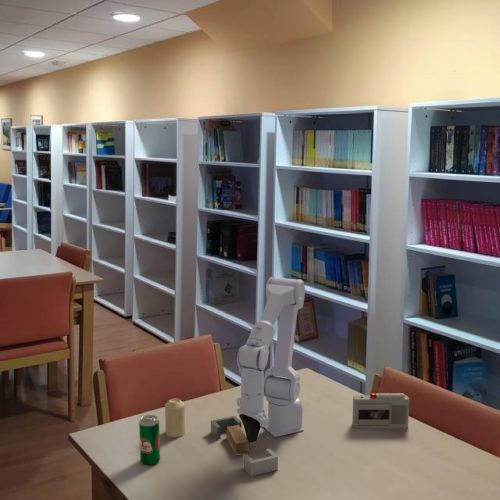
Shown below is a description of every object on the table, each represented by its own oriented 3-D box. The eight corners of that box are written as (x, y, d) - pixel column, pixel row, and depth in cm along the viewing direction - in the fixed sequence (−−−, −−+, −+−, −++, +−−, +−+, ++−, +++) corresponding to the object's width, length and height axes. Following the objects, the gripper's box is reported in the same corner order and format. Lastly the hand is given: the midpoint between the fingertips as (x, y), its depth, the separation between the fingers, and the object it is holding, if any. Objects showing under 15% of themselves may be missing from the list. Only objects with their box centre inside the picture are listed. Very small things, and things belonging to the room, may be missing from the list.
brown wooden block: (238, 436, 170) (238, 425, 169) (249, 453, 161) (249, 441, 160) (226, 438, 169) (226, 426, 168) (236, 455, 160) (236, 443, 159)
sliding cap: (269, 461, 156) (269, 448, 156) (277, 469, 152) (277, 456, 152) (243, 467, 153) (243, 455, 152) (251, 476, 149) (251, 463, 148)
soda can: (136, 462, 155) (134, 419, 153) (149, 454, 160) (148, 412, 157) (150, 468, 153) (149, 424, 151) (164, 460, 157) (163, 417, 155)
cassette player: (353, 428, 174) (354, 396, 173) (352, 424, 177) (353, 392, 175) (407, 428, 174) (409, 396, 173) (405, 424, 177) (407, 392, 175)
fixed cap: (234, 426, 175) (234, 415, 175) (241, 433, 171) (241, 422, 171) (210, 432, 172) (210, 420, 171) (217, 439, 168) (217, 427, 167)
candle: (181, 438, 168) (181, 404, 167) (162, 436, 169) (162, 403, 168) (187, 429, 174) (187, 396, 172) (169, 427, 175) (168, 395, 173)
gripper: (226, 384, 158) (226, 432, 160) (250, 405, 145) (250, 457, 148) (250, 379, 161) (250, 427, 163) (276, 399, 148) (275, 451, 151)
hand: (252, 441), depth 156 cm, fingers closed
